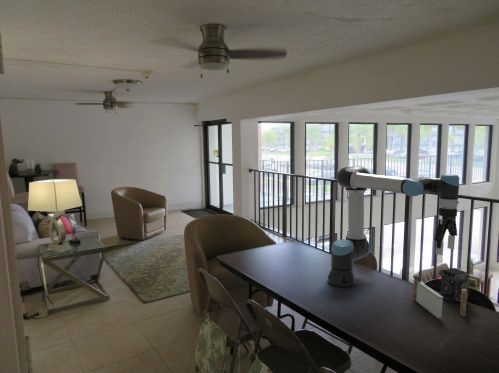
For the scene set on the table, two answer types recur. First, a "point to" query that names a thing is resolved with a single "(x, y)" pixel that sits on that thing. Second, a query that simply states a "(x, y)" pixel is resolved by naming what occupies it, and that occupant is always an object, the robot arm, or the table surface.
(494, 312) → the table surface
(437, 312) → the gate
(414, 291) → the hinge post
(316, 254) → the table surface
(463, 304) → the post
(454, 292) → the camera
